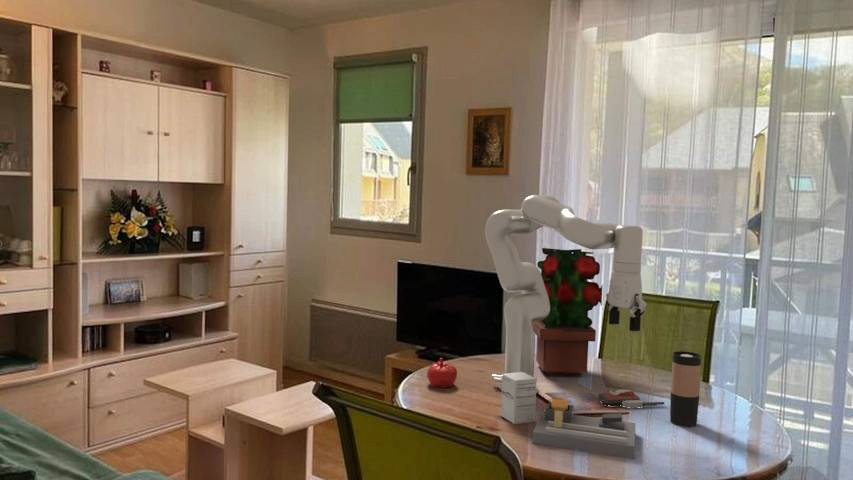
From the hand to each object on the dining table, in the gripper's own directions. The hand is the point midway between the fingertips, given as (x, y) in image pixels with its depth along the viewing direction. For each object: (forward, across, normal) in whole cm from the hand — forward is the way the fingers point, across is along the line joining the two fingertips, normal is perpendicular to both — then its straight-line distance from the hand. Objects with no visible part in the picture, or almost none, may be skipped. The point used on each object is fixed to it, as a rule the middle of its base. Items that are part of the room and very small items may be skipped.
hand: (624, 327), depth 186 cm
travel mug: (+27, +8, +16) cm, 32 cm away
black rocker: (+22, +12, -11) cm, 27 cm away
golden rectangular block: (+23, +11, -27) cm, 37 cm away
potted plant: (+27, -50, +10) cm, 57 cm away
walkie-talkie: (+27, -11, +11) cm, 31 cm away
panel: (+27, +12, -19) cm, 35 cm away
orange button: (+22, +3, -22) cm, 31 cm away
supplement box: (+27, -7, -30) cm, 41 cm away
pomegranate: (+27, -43, -39) cm, 64 cm away
